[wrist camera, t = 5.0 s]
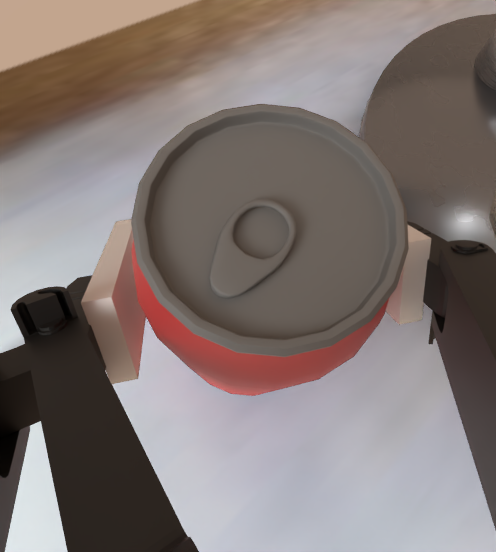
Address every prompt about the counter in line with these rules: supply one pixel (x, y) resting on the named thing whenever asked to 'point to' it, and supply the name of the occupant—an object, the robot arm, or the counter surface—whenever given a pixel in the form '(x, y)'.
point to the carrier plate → (441, 128)
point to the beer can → (266, 246)
